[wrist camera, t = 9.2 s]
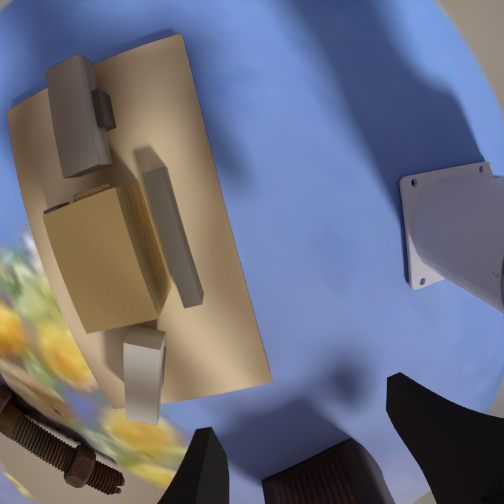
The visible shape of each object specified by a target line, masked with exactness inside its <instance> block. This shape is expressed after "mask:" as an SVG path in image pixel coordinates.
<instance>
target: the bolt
mask: <svg viewBox="0 0 504 504" xmlns="http://www.w3.org/2000/svg"><path fill="white" fill-rule="evenodd" d="M12 396H13V392H11V391H10V390H9V389H8V388H7V387H5V386H4V385H0V432H1V433H3V434H4V435H5V436H6V437H8V438H10V439H13V441H16V442H17V443H19V444H20V445H22V447H25V449H28V451H31V453H34V455H37V457H40V459H42V458H43V461H44V460H45V461H46V463H47V462H49V464H52V466H54V465H55V468H57V467H58V470H60V469H61V471H64V479H65V481H66V483H68V484H70V485H71V486H73V487H75V488H81V487H83V486H84V485H85V484H88V485H89V486H90V485H91V487H94V488H95V489H97V490H98V491H99V490H100V491H101V492H104V493H106V494H107V495H109V494H115V493H119V494H120V493H121V489H120V488H118V487H116V486H123V485H124V482H125V480H124V478H123V475H122V473H121V472H119V471H117V470H115V469H113V468H110V467H108V466H107V465H104V464H101V462H99V461H96V454H95V452H94V451H93V450H91V449H90V448H88V447H86V446H84V445H83V444H81V445H78V446H77V447H76V448H74V447H73V448H72V446H69V445H68V444H66V443H65V442H63V441H62V440H61V441H60V439H57V437H54V435H51V433H48V431H46V432H45V429H42V427H39V425H37V424H36V423H35V424H34V421H32V422H31V419H29V420H28V417H26V416H25V415H24V414H23V413H22V412H21V411H20V410H19V409H18V408H16V407H15V406H14V405H12V404H11V403H10V402H11V399H12Z"/></svg>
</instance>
